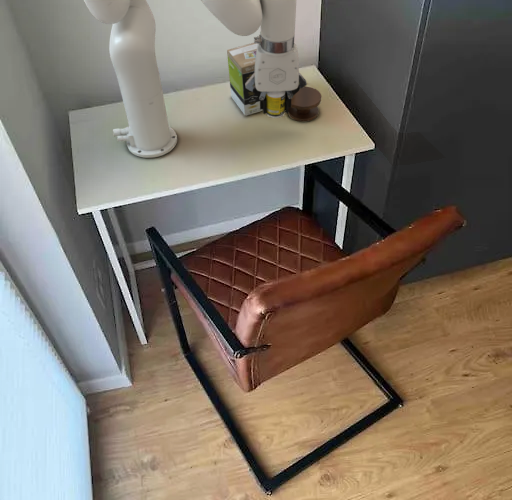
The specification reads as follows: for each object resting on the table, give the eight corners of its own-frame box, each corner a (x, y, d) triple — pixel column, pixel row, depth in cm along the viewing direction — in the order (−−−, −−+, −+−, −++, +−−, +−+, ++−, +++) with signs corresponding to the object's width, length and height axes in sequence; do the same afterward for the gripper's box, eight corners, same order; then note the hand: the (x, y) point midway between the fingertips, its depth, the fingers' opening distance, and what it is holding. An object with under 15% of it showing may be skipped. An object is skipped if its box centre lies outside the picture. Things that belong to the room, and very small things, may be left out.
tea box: (279, 83, 162) (279, 34, 150) (295, 102, 155) (297, 52, 144) (229, 97, 158) (226, 47, 147) (244, 117, 152) (241, 67, 141)
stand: (288, 124, 149) (288, 107, 146) (284, 103, 155) (284, 87, 152) (322, 121, 150) (324, 105, 146) (317, 101, 156) (318, 85, 152)
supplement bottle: (282, 119, 140) (284, 89, 134) (263, 117, 141) (264, 87, 135) (286, 108, 143) (287, 78, 137) (267, 106, 144) (267, 76, 138)
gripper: (240, 51, 125) (241, 121, 139) (317, 48, 126) (311, 117, 140) (238, 34, 130) (239, 103, 144) (312, 31, 131) (307, 99, 145)
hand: (275, 109), depth 142 cm, fingers closed on supplement bottle, 4 cm apart
